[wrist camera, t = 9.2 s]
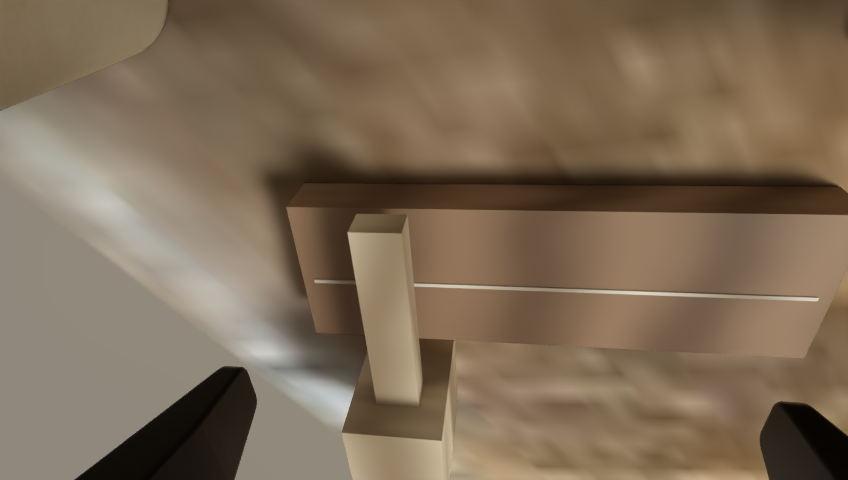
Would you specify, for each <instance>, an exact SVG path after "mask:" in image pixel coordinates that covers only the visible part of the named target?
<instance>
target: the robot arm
mask: <svg viewBox="0 0 848 480" xmlns="http://www.w3.org/2000/svg"><path fill="white" fill-rule="evenodd" d="M256 405H257V399H256V394H255V391H254V388H253V386H252V383H251V380H250V377H249V374H248V372H247V370H246V369H245V368H243V367H233V366H224V367H222V368H220V369H218V370H217V371H216V372H214V373H213V374H212V375H210V376H209V377H208V378H206V379H205V380H204V381H203V382H201V383H200V384H199V385H197V386H196V387H195V388H194V389H192V390H191V391H189V392H188V393H187V394H186V395H184V396H183V397H182V398H180V399H179V400H178V401H176V402H175V403H174V404H173V405H171V406H170V407H169V408H167V409H166V410H165V411H164V412H162V413H161V414H160V415H158V416H157V417H156V418H154V419H153V420H152V421H150V422H149V423H148V424H146V425H145V426H144V427H143V428H141V429H140V430H139V431H137V432H136V433H135V434H133V435H132V436H131V437H129V438H128V439H127V440H126V441H124V442H123V443H122V444H120V445H119V446H118V447H117V448H115V449H114V450H113V451H112V452H110V453H109V454H107V455H106V456H105V457H103V458H102V459H101V460H100V461H98V462H97V463H96V464H94V465H93V466H92V467H90V468H89V469H88V470H86V471H85V472H84V473H83V474H81V475H80V476H79V477H77V478H76V479H75V480H234V479H235V476H236V473H237V470H238V466H239V463H240V460H241V456H242V453H243V449H244V446H245V443H246V440H247V436H248V433H249V430H250V427H251V423H252V420H253V417H254V413H255V410H256ZM760 447H761V451H762V454H763V458H764V462H765V465H766V469H767V473H768V476H769V480H848V436H847V435H846V434H845V433H844V432H842V431H841V430H840V429H839V428H837V427H836V426H835V425H834V424H832V423H831V422H830V421H829V420H828V419H826V418H825V417H824V416H823V415H821V414H820V413H819V412H818V411H816V410H815V409H814V408H813V407H811V406H809V405H808V404H805V403H799V402H783V401H781V402H778V403H776V404H774V406H773V408H772V410H771V412H770V414H769V416H768V418H767V420H766V422H765V425H764V427H763V429H762V431H761V434H760Z"/></svg>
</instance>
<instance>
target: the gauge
mask: <svg viewBox="0 0 848 480" xmlns="http://www.w3.org/2000/svg"><path fill="white" fill-rule="evenodd" d="M347 233H348V239H349V245H350V251H351V256H352V262H353V268H354V274H355V280H356V286H357V292H358V298H359V303H360V309H361V315H362V321H363V327H364V333H365V339H366V345H367V353H366V356H365V359H364V363H363V366H362V369H361V372H360V375H359V379H358V382H357V385H356V388H355V391H354V395H353V398H352V401H351V404H350V408H349V411H348V414H347V417H346V420H345V424H344V427H343V430H342V437H343V441H344V445H345V449H346V453H347V458H348V462H349V466H350V470H351V474H352V478H353V480H450V472H451V462H452V452H453V442H454V432H455V422H456V412H457V402H458V400H457V374H456V348H455V340H444V339H424V338H419V334H418V323H417V313H416V302H415V291H414V280H413V269H412V258H411V247H410V236H409V225H408V215H401V214H356V216H355V218H354V220H353V222H352V224H351V226H350V228H349V230H348V232H347Z"/></svg>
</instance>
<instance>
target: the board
mask: <svg viewBox="0 0 848 480" xmlns="http://www.w3.org/2000/svg"><path fill="white" fill-rule="evenodd" d="M286 209H287V213H288V217H289V221H290V226H291V230H292V234H293V238H294V242H295V246H296V251H297V255H298V259H299V263H300V267H301V271H302V275H303V280H304V284H305V288H306V292H307V296H308V300H309V305H310V309H311V313H312V317H313V321H314V325H315V330H316V333H328V334H347V335H365V333H364V327H363V321H362V315H361V309H360V303H359V298H358V292H357V286H356V280H355V274H354V268H353V262H352V256H351V251H350V245H349V239H348V233H347V232H348V230H349V228H350V226H351V224H352V222H353V220H354V218H355V216H356V214H401V215H408V225H409V236H410V247H411V258H412V269H413V280H414V291H415V302H416V313H417V323H418V334H419V338H424V339H444V340H463V341H482V342H501V343H521V344H540V345H559V346H579V347H598V348H617V349H636V350H656V351H675V352H694V353H713V354H733V355H752V356H771V357H791V358H804V357H805V355H806V353H807V351H808V349H809V347H810V345H811V343H812V341H813V339H814V337H815V335H816V333H817V331H818V329H819V327H820V325H821V322H822V320H823V318H824V316H825V314H826V312H827V310H828V308H829V306H830V304H831V302H832V300H833V298H834V296H835V294H836V292H837V290H838V288H839V286H840V284H841V281H842V279H843V277H844V275H845V273H846V271H847V269H848V193H847V192H846V191H844V190H843V189H842V188H841V187H788V186H639V185H489V184H340V183H303V185H302V186H301V187H300V189H299V190H298V191H297V193H296V194H295V196H294V197H293V198H292V200H291V201H290V202H289V204H288V205H287V207H286Z"/></svg>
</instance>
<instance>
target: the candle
mask: <svg viewBox="0 0 848 480" xmlns="http://www.w3.org/2000/svg"><path fill="white" fill-rule="evenodd" d="M167 12H168V0H0V111H1V110H4V109H6V108H9V107H11V106H13V105H16V104H18V103H21V102H23V101H26V100H28V99H30V98H33V97H35V96H38V95H40V94H43V93H45V92H48V91H50V90H52V89H55V88H57V87H60V86H62V85H65V84H67V83H69V82H72V81H74V80H77V79H79V78H82V77H84V76H86V75H89V74H91V73H94V72H96V71H99V70H101V69H103V68H106V67H108V66H111V65H113V64H116V63H118V62H120V61H123V60H125V59H127V58H129V57H132V56H134V55H136V54H138V53H140V52H142V51H143V50H144V49H146V48H147V47H148V46H149V45H151V44H152V43H153V42H154V41H155V40H156V38H157V37H158V36H159V34H160V32H161V31H162V29H163V26H164V24H165V21H166V17H167Z"/></svg>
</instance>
